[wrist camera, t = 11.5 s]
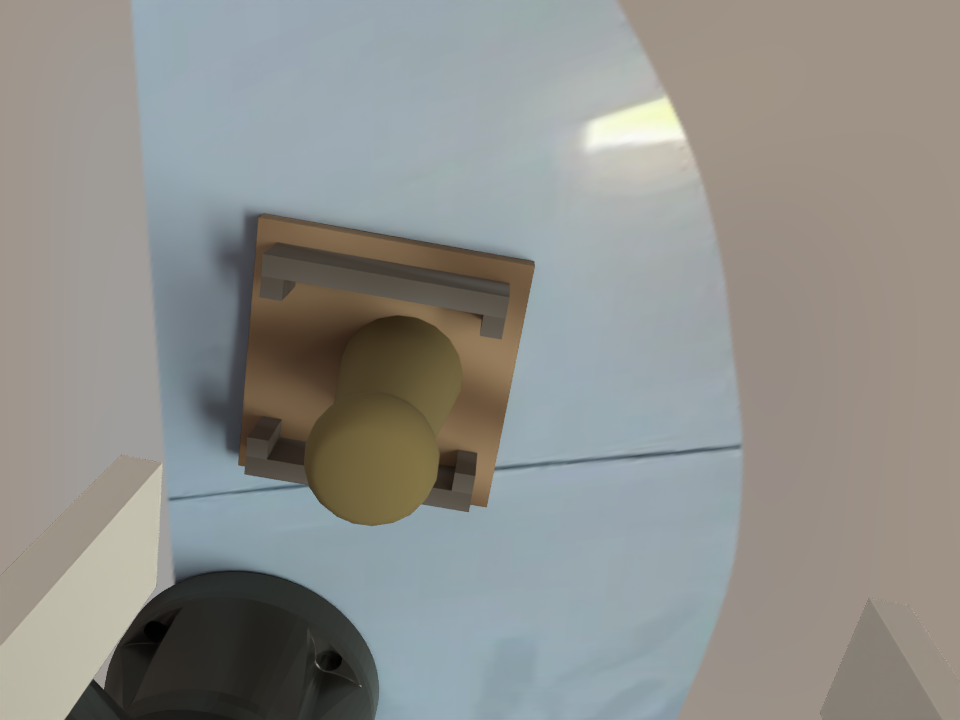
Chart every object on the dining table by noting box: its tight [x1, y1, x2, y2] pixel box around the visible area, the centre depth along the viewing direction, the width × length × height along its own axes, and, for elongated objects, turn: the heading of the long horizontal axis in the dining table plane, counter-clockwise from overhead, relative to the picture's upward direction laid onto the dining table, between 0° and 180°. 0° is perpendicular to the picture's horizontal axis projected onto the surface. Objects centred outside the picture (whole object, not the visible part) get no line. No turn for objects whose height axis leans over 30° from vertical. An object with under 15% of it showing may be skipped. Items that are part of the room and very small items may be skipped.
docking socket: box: [238, 214, 535, 512], centre depth 40 cm, size 13×13×4 cm
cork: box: [304, 315, 463, 526], centre depth 36 cm, size 6×6×11 cm
